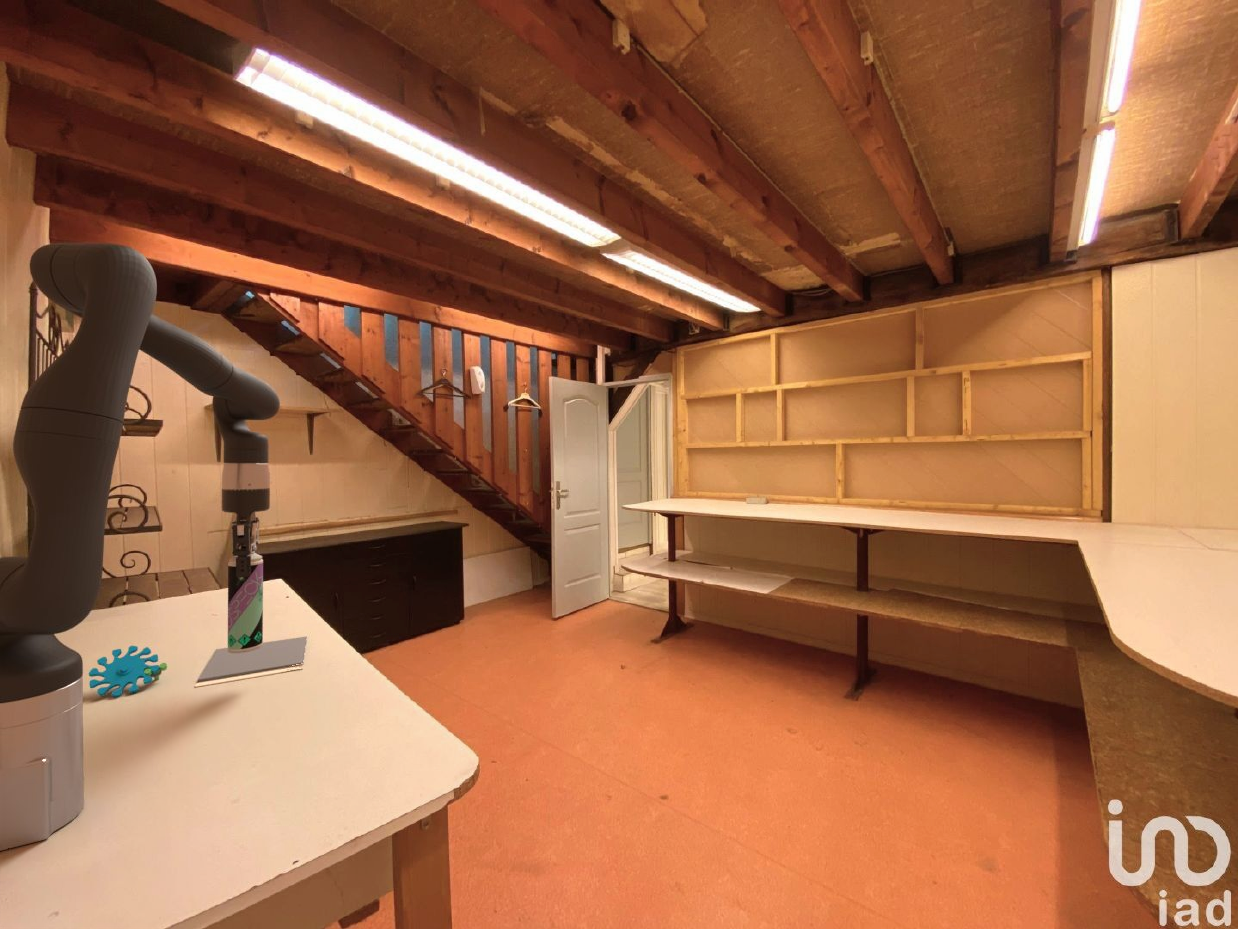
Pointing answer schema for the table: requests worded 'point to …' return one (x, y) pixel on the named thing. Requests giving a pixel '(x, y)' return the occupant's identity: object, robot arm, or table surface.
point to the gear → (126, 671)
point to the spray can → (245, 607)
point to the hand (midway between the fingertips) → (245, 573)
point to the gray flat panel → (253, 661)
